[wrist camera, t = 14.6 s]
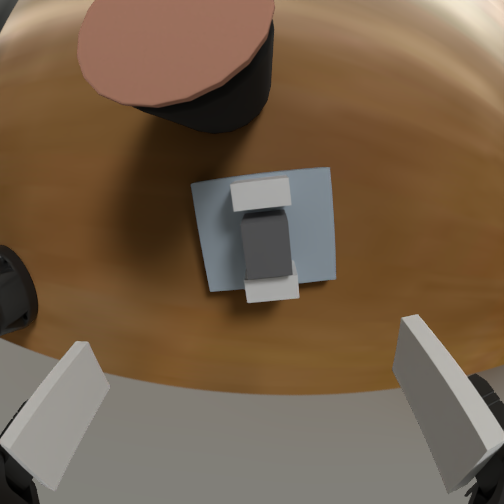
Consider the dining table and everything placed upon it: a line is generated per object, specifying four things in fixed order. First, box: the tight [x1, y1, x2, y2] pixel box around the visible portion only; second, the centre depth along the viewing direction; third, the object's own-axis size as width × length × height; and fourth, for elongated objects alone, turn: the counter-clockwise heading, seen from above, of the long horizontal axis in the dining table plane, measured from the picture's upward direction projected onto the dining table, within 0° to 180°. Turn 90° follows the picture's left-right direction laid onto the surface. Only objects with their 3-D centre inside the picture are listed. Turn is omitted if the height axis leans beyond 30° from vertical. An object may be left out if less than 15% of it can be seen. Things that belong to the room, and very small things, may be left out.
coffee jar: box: [77, 0, 275, 134], centre depth 18 cm, size 11×11×18 cm
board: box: [191, 167, 336, 303], centre depth 28 cm, size 14×12×6 cm
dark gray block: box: [240, 209, 293, 280], centre depth 27 cm, size 4×5×5 cm
